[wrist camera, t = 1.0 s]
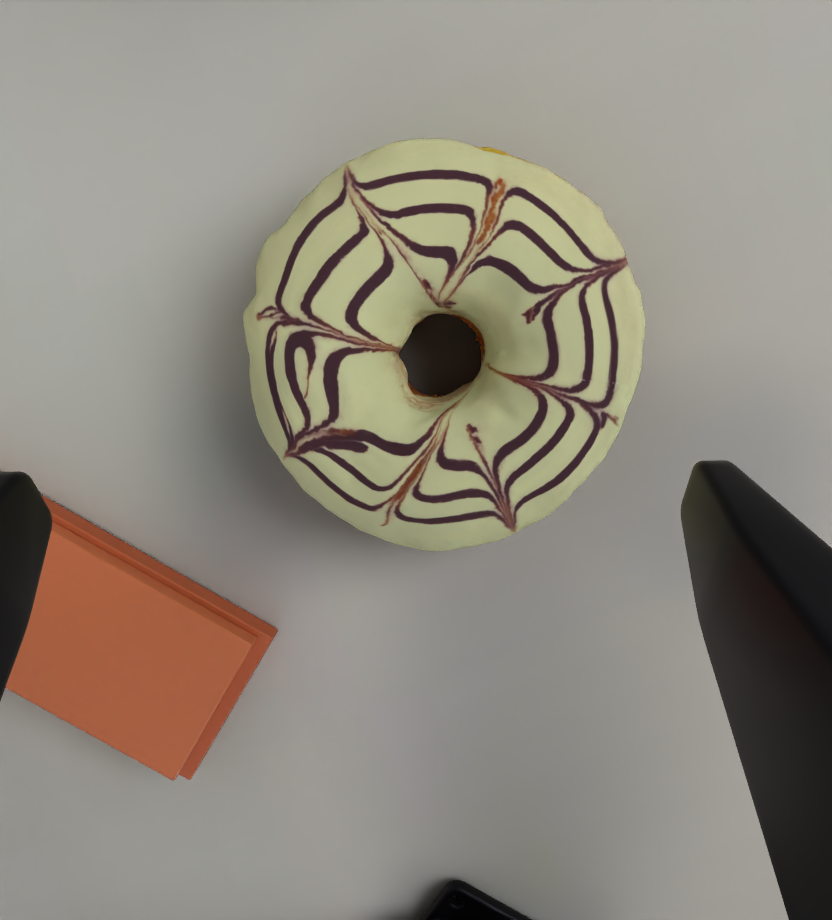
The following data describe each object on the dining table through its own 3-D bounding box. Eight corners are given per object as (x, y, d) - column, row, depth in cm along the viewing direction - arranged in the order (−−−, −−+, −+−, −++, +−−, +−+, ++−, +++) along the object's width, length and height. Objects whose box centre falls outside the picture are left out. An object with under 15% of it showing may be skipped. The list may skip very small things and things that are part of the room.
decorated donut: (234, 460, 23) (187, 491, 19) (325, 111, 20) (290, 70, 17) (545, 562, 23) (557, 614, 19) (675, 224, 20) (719, 208, 16)
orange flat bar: (278, 629, 24) (266, 648, 23) (197, 768, 26) (181, 794, 24) (-93, 417, 23) (-128, 425, 22) (-154, 573, 25) (-190, 588, 24)
